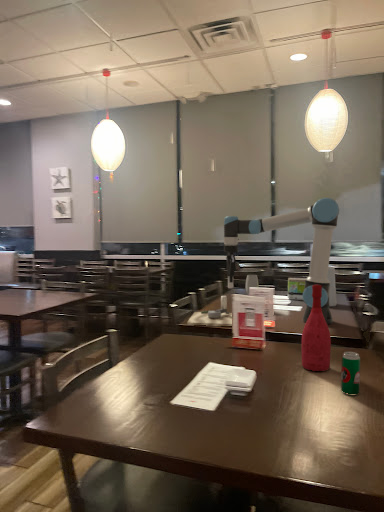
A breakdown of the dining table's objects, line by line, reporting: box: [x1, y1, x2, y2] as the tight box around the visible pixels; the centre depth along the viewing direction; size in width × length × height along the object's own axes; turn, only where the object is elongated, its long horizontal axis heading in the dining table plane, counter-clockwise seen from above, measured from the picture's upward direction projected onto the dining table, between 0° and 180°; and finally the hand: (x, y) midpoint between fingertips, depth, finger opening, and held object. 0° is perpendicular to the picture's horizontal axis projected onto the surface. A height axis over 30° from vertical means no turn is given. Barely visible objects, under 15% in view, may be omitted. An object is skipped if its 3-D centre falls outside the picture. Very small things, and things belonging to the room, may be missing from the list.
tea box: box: [287, 277, 307, 301], centre depth 273 cm, size 15×10×15 cm
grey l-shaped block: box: [208, 295, 228, 319], centre depth 211 cm, size 14×7×10 cm, turn 141°
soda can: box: [340, 351, 361, 395], centre depth 115 cm, size 5×5×12 cm
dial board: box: [186, 310, 233, 327], centre depth 209 cm, size 26×26×3 cm
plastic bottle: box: [327, 266, 337, 308], centre depth 250 cm, size 15×15×28 cm
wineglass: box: [245, 274, 260, 296], centre depth 239 cm, size 9×9×21 cm
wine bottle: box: [301, 284, 332, 372], centre depth 135 cm, size 10×10×30 cm
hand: (230, 287), depth 208 cm, fingers closed
